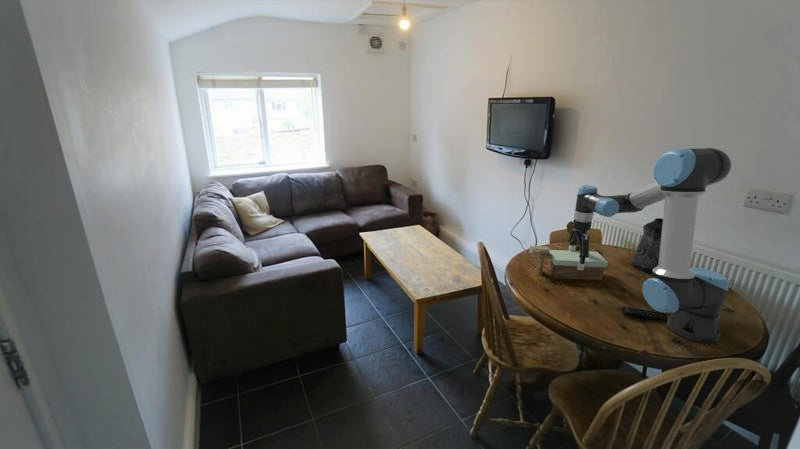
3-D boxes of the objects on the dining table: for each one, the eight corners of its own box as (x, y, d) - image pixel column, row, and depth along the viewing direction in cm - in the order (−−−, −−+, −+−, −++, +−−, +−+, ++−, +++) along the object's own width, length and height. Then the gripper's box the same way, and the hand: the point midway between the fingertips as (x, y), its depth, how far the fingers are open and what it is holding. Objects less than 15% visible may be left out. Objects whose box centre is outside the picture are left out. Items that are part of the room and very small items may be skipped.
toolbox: (601, 279, 174) (606, 258, 170) (540, 277, 176) (543, 256, 172) (593, 270, 183) (597, 250, 179) (535, 268, 185) (537, 248, 181)
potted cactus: (573, 252, 204) (579, 220, 198) (587, 262, 191) (593, 229, 185) (557, 252, 203) (562, 221, 198) (570, 263, 191) (575, 229, 185)
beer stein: (660, 262, 193) (671, 215, 185) (679, 279, 175) (693, 228, 167) (625, 259, 196) (635, 213, 187) (640, 276, 177) (652, 225, 169)
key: (548, 254, 175) (549, 248, 174) (530, 254, 176) (531, 248, 175) (546, 252, 178) (547, 246, 177) (529, 251, 179) (530, 245, 178)
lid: (606, 267, 170) (607, 262, 169) (554, 265, 172) (555, 260, 171) (596, 256, 181) (597, 251, 181) (546, 254, 183) (547, 249, 182)
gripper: (602, 229, 158) (593, 275, 165) (581, 212, 181) (574, 253, 188) (584, 228, 159) (576, 274, 166) (565, 211, 182) (559, 253, 189)
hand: (575, 263), depth 177 cm, fingers closed on lid, 12 cm apart
